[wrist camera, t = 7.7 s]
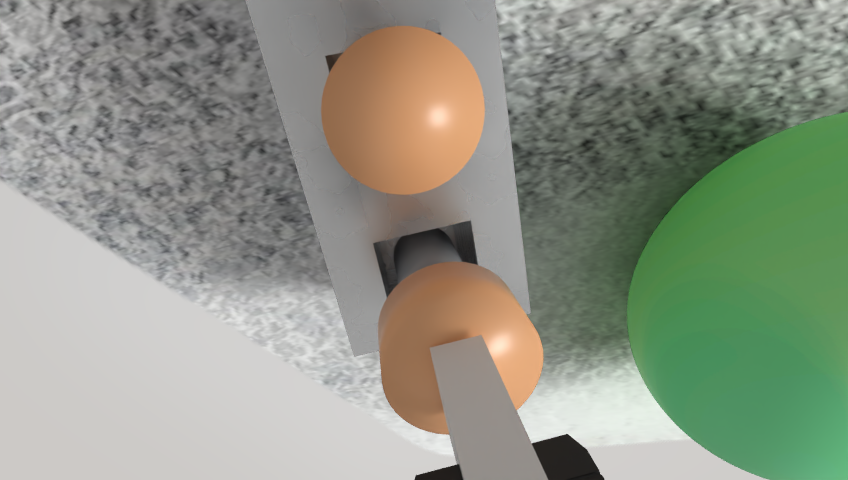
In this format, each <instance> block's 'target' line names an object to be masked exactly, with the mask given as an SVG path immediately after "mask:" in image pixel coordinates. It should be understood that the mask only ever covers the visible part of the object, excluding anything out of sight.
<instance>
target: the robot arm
mask: <svg viewBox="0 0 848 480" xmlns="http://www.w3.org/2000/svg"><path fill="white" fill-rule="evenodd" d="M430 352H431V357H432V361H433V366H434V370H435V375H436V379H437V384H438V388H439V392H440V397H441V401H442V406H443V410H444V415H445V419H446V423H447V427H448V431H449V435H450V439H451V443H452V447H453V451H454V455H455V458H456V462H457V465H454V466H450V467H446V468H442V469H439V470H435V471H431V472H428V473H423V474H420V475H416V477H415V480H604V478H603V476H602V475H601V474H600V472H599V469H598V468H597V466H596V464H595V463H594V461H593V459H592V458H591V456H590V454H589V453H588V451H587V449H585V448H584V447H583V446H582V445H580V444H579V443H578V442H577V441H575V440H574V439H573V438H572V437H571V436H569V435H568V434H566V435H562V436H558V437H554V438H551V439H547V440H543V441H539V442H535V443H532V444H531V441H530V439H529V437H528V435H527V433H526V431H525V428H524V426H523V424H522V422H521V420H520V417H519V415H518V413H517V411H516V409H515V407H514V404H513V402H512V400H511V398H510V396H509V394H508V391H507V389H506V387H505V385H504V383H503V380H502V378H501V376H500V374H499V372H498V370H497V367H496V365H495V363H494V361H493V359H492V357H491V354H490V352H489V350H488V348H487V346H486V343H485V341H484V339H483V337H482V335H479V336H475V337H471V338H467V339H463V340H459V341H455V342H451V343H446V344H442V345H438V346H434V347H430Z"/></svg>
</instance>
